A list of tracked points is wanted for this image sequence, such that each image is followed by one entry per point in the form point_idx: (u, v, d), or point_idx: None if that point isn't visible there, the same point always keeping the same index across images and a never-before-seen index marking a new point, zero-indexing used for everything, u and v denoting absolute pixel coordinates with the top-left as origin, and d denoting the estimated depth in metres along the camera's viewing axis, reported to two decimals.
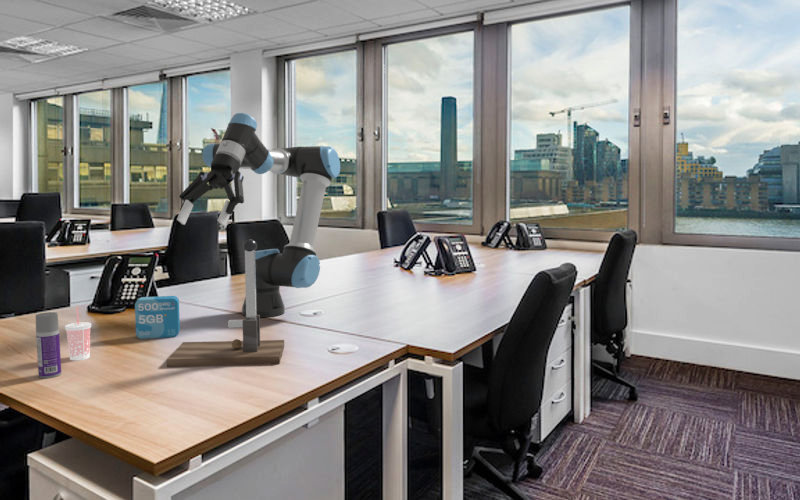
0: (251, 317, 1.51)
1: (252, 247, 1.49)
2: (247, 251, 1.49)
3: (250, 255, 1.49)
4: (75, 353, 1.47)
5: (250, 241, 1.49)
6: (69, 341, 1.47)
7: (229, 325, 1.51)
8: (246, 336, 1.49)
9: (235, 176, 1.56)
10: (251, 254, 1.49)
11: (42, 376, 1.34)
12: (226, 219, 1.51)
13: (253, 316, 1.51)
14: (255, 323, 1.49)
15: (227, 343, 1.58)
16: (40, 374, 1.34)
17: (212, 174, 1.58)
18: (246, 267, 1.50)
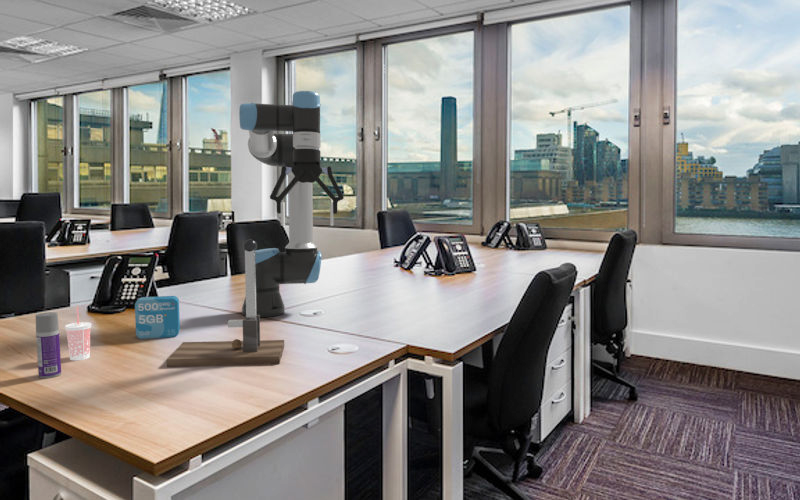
0: (251, 317, 1.51)
1: (252, 247, 1.49)
2: (247, 251, 1.49)
3: (250, 255, 1.49)
4: (75, 353, 1.47)
5: (250, 241, 1.49)
6: (69, 341, 1.47)
7: (229, 325, 1.51)
8: (246, 336, 1.49)
9: (328, 173, 1.56)
10: (251, 254, 1.49)
11: (42, 376, 1.34)
12: None
13: (253, 316, 1.51)
14: (255, 323, 1.49)
15: (227, 343, 1.58)
16: (40, 374, 1.34)
17: (301, 172, 1.55)
18: (246, 267, 1.50)
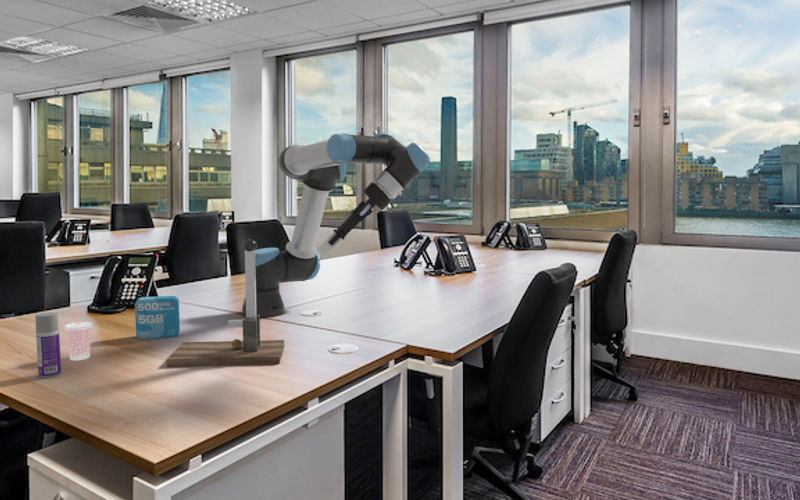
0: (251, 317, 1.51)
1: (252, 247, 1.49)
2: (247, 251, 1.49)
3: (250, 255, 1.49)
4: (75, 353, 1.47)
5: (250, 241, 1.49)
6: (69, 341, 1.47)
7: (229, 325, 1.51)
8: (246, 336, 1.49)
9: None
10: (251, 254, 1.49)
11: (42, 376, 1.34)
12: None
13: (253, 316, 1.51)
14: (255, 323, 1.49)
15: (227, 343, 1.58)
16: (40, 374, 1.34)
17: None
18: (246, 267, 1.50)
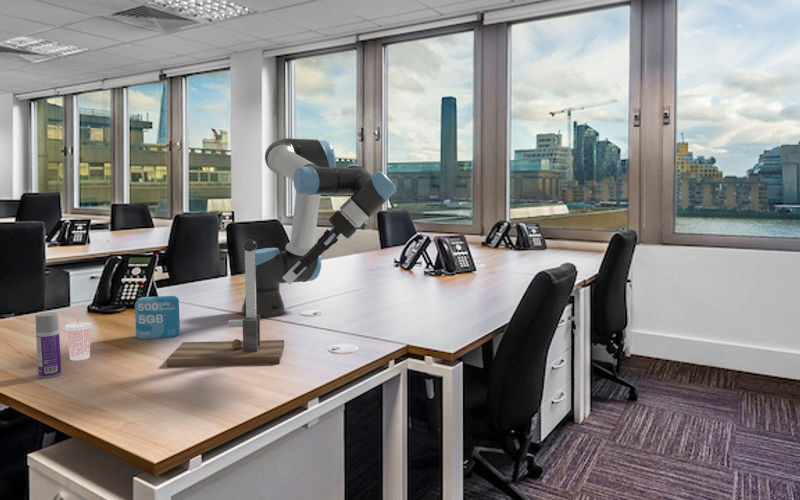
0: (251, 317, 1.51)
1: (252, 247, 1.49)
2: (247, 251, 1.49)
3: (250, 255, 1.49)
4: (75, 353, 1.47)
5: (250, 241, 1.49)
6: (69, 341, 1.47)
7: (229, 325, 1.51)
8: (246, 336, 1.49)
9: None
10: (251, 254, 1.49)
11: (42, 376, 1.34)
12: None
13: (253, 316, 1.51)
14: (255, 323, 1.49)
15: (227, 343, 1.58)
16: (40, 374, 1.34)
17: (336, 241, 1.52)
18: (246, 267, 1.50)
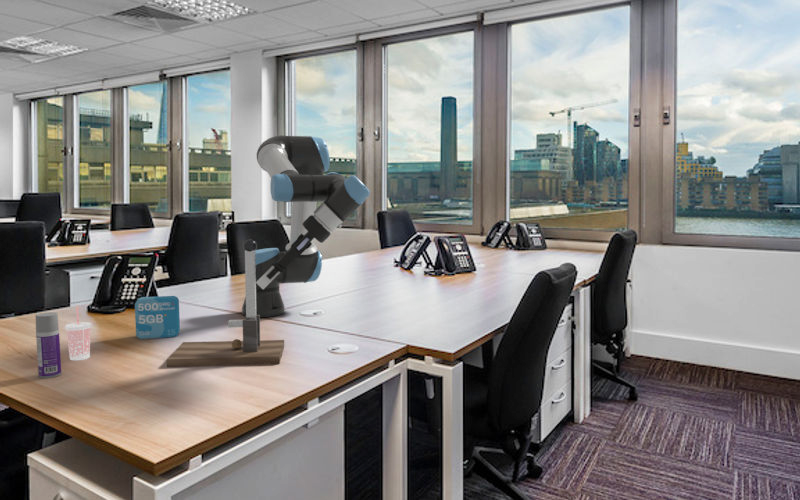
0: (251, 317, 1.51)
1: (252, 247, 1.49)
2: (247, 251, 1.49)
3: (250, 255, 1.49)
4: (75, 353, 1.47)
5: (250, 241, 1.49)
6: (69, 341, 1.47)
7: (229, 325, 1.51)
8: (246, 336, 1.49)
9: None
10: (251, 254, 1.49)
11: (42, 376, 1.34)
12: None
13: (253, 316, 1.51)
14: (255, 323, 1.49)
15: (227, 343, 1.58)
16: (40, 374, 1.34)
17: (310, 246, 1.51)
18: (246, 267, 1.50)
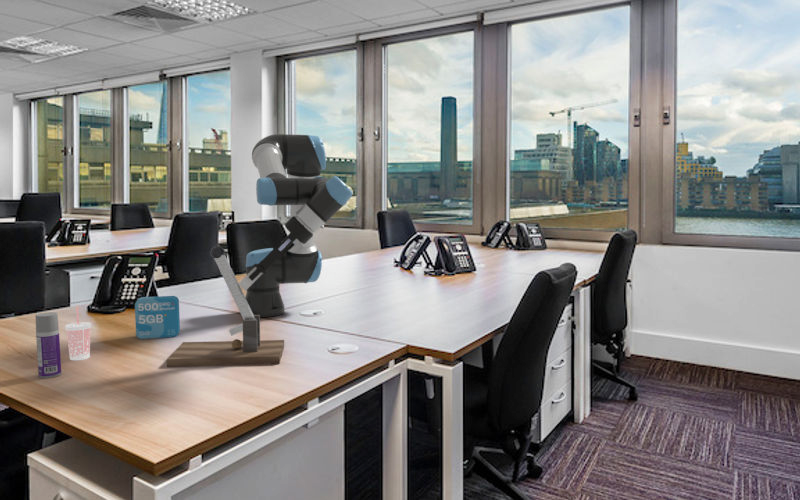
0: (248, 317, 1.51)
1: (220, 253, 1.48)
2: (217, 258, 1.48)
3: (221, 261, 1.49)
4: (75, 353, 1.47)
5: (215, 248, 1.48)
6: (69, 341, 1.47)
7: (231, 333, 1.51)
8: (246, 336, 1.49)
9: None
10: (222, 259, 1.49)
11: (42, 376, 1.34)
12: None
13: (250, 316, 1.51)
14: (255, 323, 1.49)
15: (227, 343, 1.58)
16: (40, 374, 1.34)
17: (292, 247, 1.51)
18: (223, 273, 1.49)
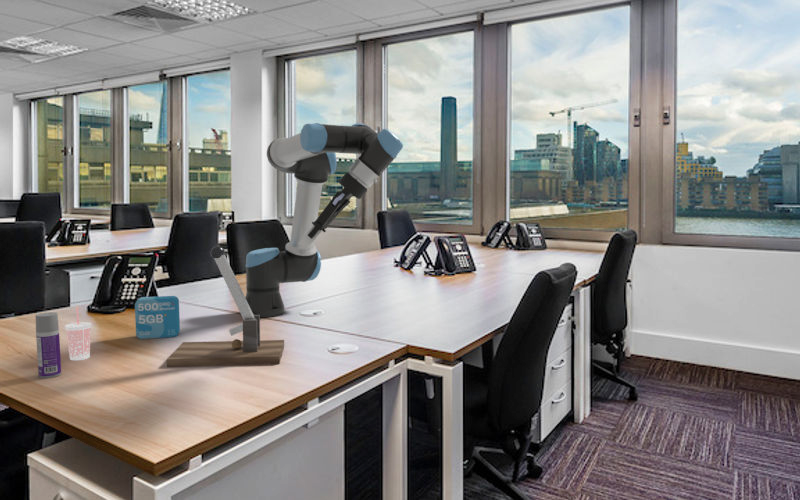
0: (248, 317, 1.51)
1: (220, 253, 1.48)
2: (217, 258, 1.48)
3: (221, 261, 1.49)
4: (75, 353, 1.47)
5: (215, 248, 1.48)
6: (69, 341, 1.47)
7: (231, 333, 1.51)
8: (246, 336, 1.49)
9: (344, 207, 1.58)
10: (222, 259, 1.49)
11: (42, 376, 1.34)
12: None
13: (250, 316, 1.51)
14: (255, 323, 1.49)
15: (227, 343, 1.58)
16: (40, 374, 1.34)
17: (347, 202, 1.52)
18: (222, 273, 1.49)
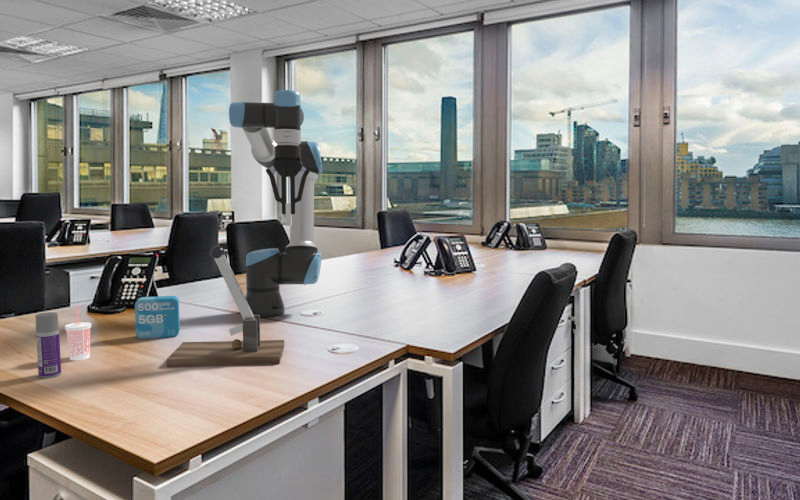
0: (248, 317, 1.51)
1: (220, 253, 1.48)
2: (217, 258, 1.48)
3: (221, 261, 1.49)
4: (75, 353, 1.47)
5: (215, 248, 1.48)
6: (69, 341, 1.47)
7: (231, 333, 1.51)
8: (246, 336, 1.49)
9: (304, 174, 1.66)
10: (222, 259, 1.49)
11: (42, 376, 1.34)
12: (291, 219, 1.68)
13: (250, 316, 1.51)
14: (255, 323, 1.49)
15: (227, 343, 1.58)
16: (40, 374, 1.34)
17: (283, 167, 1.64)
18: (222, 273, 1.49)
